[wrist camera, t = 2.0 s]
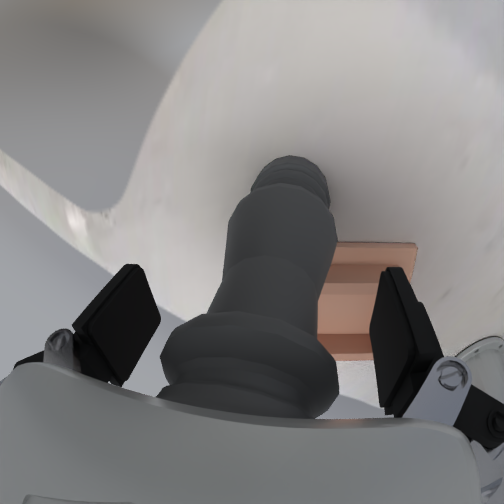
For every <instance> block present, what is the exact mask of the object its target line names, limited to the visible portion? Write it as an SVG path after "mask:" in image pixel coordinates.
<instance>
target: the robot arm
mask: <svg viewBox="0 0 504 504" xmlns="http://www.w3.org/2000/svg"><path fill="white" fill-rule="evenodd" d="M160 321H161V316H160V313H159V311H158V308H157V306H156V303H155V300H154V298H153V295H152V292H151V289H150V287H149V284H148V281H147V278H146V275H145V273H144V270H143V269H142V268H141V267H140V266H139V265H138V264H126V265H124V266H123V267H122V268H121V269H120V270H119V272H118V273H117V274H116V275H115V276H114V277H113V278H112V279H111V280H110V281H109V282H108V284H107V285H106V286H105V287H104V288H103V289H102V290H101V291H100V292H99V294H98V295H97V296H96V297H95V298H94V300H92V302H91V303H90V304H89V305H88V306H87V307H86V309H85V310H84V311H83V312H82V313H81V315H80V316H79V317H78V318H77V319H76V320H75V322H74V323H73V324H72V327H73V328H74V330H75V333H74V334H73V333H72V332H71V331H70V330H69V329H59V330H57V331H55V332H54V333H52V334H51V335H50V336H49V337H48V339H47V341H46V343H45V350H44V351H42V352H39V353H37V354H34V355H32V356H30V357H27V358H25V359H23V360H20V361H18V362H17V363H16V364H15V366H14V369H13V371H12V372H11V373H10V374H9V375H8V376H7V377H6V378H4V379H3V380H2V381H0V504H504V340H503V339H502V338H499V337H491V338H487V339H484V340H481V341H479V342H477V343H475V344H473V345H472V346H470V347H469V348H467V349H466V350H464V351H463V352H462V353H460V354H459V355H458V356H457V357H450V356H447V357H444V356H443V353H442V350H441V347H440V345H439V342H438V339H437V336H436V334H435V331H434V329H433V326H432V324H431V321H430V319H429V316H428V314H427V312H426V309H425V307H424V305H423V303H421V302H418V301H417V298H416V296H415V294H414V292H413V289H412V287H411V285H410V283H409V281H408V278H407V276H406V274H405V272H404V270H403V268H402V267H387V268H386V270H385V271H382V272H381V274H380V279H379V285H378V290H377V295H376V299H375V304H374V309H373V313H372V317H371V321H370V326H369V335H370V340H371V346H372V352H373V358H374V365H375V372H376V379H377V387H378V396H379V404H380V407H381V408H382V407H384V409H385V415H392V414H394V418H365V419H295V418H278V417H266V416H255V415H246V414H239V413H231V412H224V411H218V410H212V409H206V408H201V407H195V406H190V405H186V404H181V403H176V402H172V401H168V400H164V399H160V398H156V397H152V396H148V395H145V394H141V393H137V392H134V391H131V390H127V389H124V388H121V387H122V385H123V383H124V382H125V381H127V380H128V379H129V377H130V375H131V373H132V371H133V369H134V368H135V366H136V364H137V362H138V361H139V359H140V357H141V355H142V353H143V352H144V350H145V348H146V346H147V345H148V343H149V341H150V340H151V338H152V336H153V334H154V333H155V331H156V329H157V328H158V326H159V324H160ZM108 381H110V383H111V384H109V383H108ZM112 384H113V385H112ZM115 385H116V386H115ZM118 386H119V387H118Z"/></svg>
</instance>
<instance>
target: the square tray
mask: <svg viewBox="0 0 504 504" xmlns="http://www.w3.org/2000/svg"><path fill="white" fill-rule="evenodd" d="M417 250H418V248H417V246H416V245H415V243H352V242H337V245H336V249H335V253H334V256H333V260H332V263H331V266H330V269H329V271H328V274H327V277H326V280H325V283H324V286H323V288H322V291H321V294H320V297H319V300H318V329H317V340H318V341H319V342H320V343H321V344H322V345H323V346H324V347H325V349H326V350H327V351H328V352H329V353H330V354H331V355H332V356H333V357H334V359H335V361H358V360H374V358H373V352H372V346H371V340H370V335H369V326H370V321H371V317H372V313H373V309H374V304H375V299H376V295H377V290H378V285H379V279H380V274H381V272H382V271H385V270H386V268H387V267H402V268H403V270H404V272H405V274H406V276H407V278H408V281H409V283H410V281H411V277H412V273H413V269H414V264H415V260H416V255H417Z"/></svg>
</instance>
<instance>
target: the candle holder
mask: <svg viewBox="0 0 504 504" xmlns="http://www.w3.org/2000/svg"><path fill="white" fill-rule="evenodd" d="M329 207H330V198H329V193H328V188H327V184H326V180H325V176H324V175H323V174H322V172H321V171H320V170H319V168H318V167H317V165H315V164H313V163H312V162H310V161H309V160H307V159H305V158H302V157H296V156H285V157H281V158H277V159H275V160H274V161H272V162H271V163H270V164H268V165H267V166H265V167H264V169H263V170H262V171H261V173H260V174H259V175H258V177H257V179H256V181H255V182H254V184H253V186H252V188H251V193H250V194H249V195H247V196H246V197H245V198H243V199H242V200H241V201H240V202H239V204H238V205H237V207H236V209H235V211H234V213H233V214H232V216H231V218H230V220H229V223H228V232H227V242H226V250H225V259H224V268H223V278H222V283H221V285H220V287H219V289H218V291H217V293H216V295H215V297H214V299H213V301H212V303H211V305H210V307H209V309H208V312H207V314H201V315H199V316H197V317H195V318H193V319H191V320H190V321H188V322H186V323H184V324H182V325H180V326H178V327H177V328H175V329H174V331H173V332H172V333H171V335H170V336H169V338H168V340H167V342H166V344H165V347H164V349H163V351H162V353H161V355H160V359H161V363H162V367H163V371H164V374H165V377H166V379H167V381H168V383H169V384H170V385H169V386H166V387H164V388H162V390H161V392H160V393H159V394H158V395H157V396H156V398H160V399H164V400H168V401H172V402H176V403H181V404H186V405H190V406H195V407H201V408H206V409H212V410H218V411H224V412H231V413H239V414H246V415H255V416H266V417H278V418H295V419H315V418H316V417H318V416H320V415H322V414H323V413H324V412H326V411H327V410H328V409H329V407H330V406H331V405H332V403H333V402H334V401H335V399H336V397H337V396H338V395H339V382H338V374H337V366H336V361H335V359H334V357H333V356H332V355H331V354H330V353H329V352H328V351H327V350H326V349H325V347H324V346H323V345H322V344H321V343H320V342H319V341H318V340H317V329H318V300H319V297H320V294H321V291H322V288H323V286H324V283H325V280H326V277H327V274H328V271H329V269H330V266H331V263H332V260H333V256H334V253H335V249H336V245H337V241H338V240H337V234H336V229H335V223H334V218H333V215H332V214H331V212H330V211H329Z"/></svg>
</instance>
